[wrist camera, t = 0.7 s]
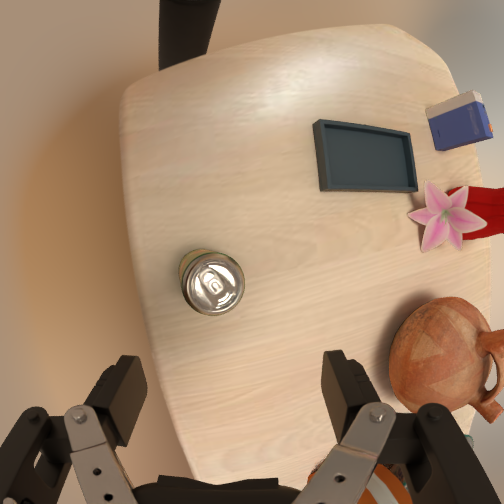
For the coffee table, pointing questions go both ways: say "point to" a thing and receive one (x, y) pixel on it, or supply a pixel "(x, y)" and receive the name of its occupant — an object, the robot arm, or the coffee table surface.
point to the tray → (363, 158)
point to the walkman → (459, 121)
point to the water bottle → (485, 210)
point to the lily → (445, 217)
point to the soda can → (211, 282)
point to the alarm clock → (383, 489)
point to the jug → (447, 358)
